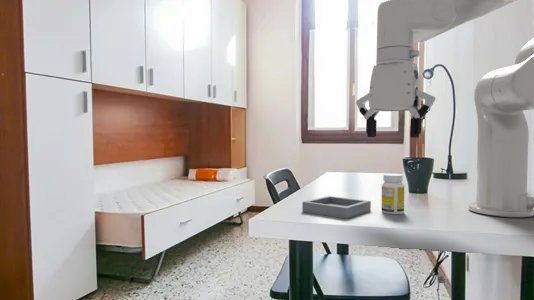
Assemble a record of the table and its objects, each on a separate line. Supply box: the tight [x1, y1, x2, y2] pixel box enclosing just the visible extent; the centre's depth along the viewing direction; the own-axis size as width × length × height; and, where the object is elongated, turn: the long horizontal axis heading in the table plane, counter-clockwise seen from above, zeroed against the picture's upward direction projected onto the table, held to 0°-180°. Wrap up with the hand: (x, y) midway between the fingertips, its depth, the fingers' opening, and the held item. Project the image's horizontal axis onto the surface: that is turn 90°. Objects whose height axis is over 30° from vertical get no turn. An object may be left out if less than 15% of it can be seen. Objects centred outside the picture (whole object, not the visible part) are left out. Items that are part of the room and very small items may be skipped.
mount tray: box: [301, 195, 372, 220], centre depth 85 cm, size 11×11×2 cm
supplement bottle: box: [381, 173, 405, 215], centre depth 84 cm, size 5×5×8 cm
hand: (392, 137), depth 83 cm, fingers open, 9 cm apart
